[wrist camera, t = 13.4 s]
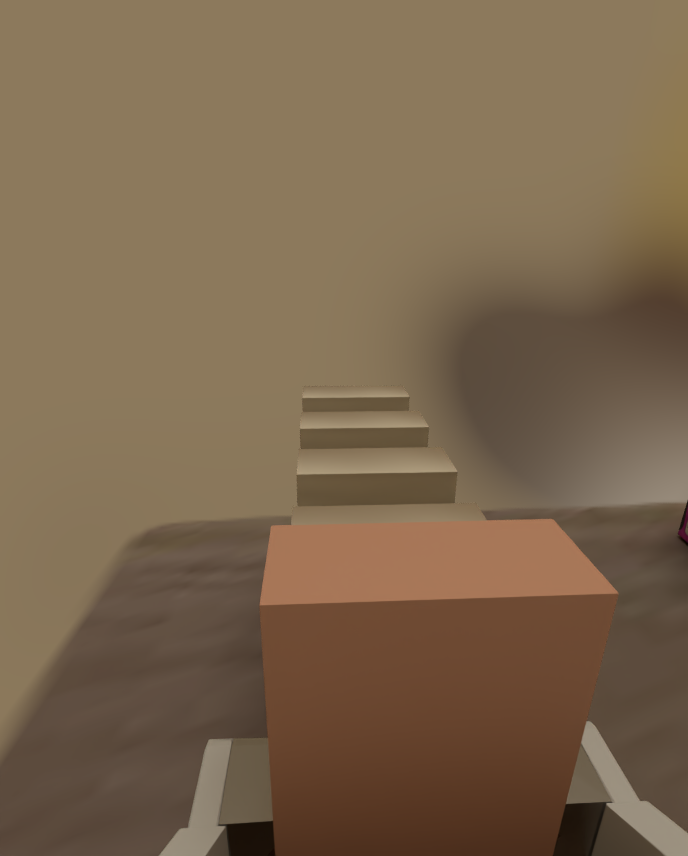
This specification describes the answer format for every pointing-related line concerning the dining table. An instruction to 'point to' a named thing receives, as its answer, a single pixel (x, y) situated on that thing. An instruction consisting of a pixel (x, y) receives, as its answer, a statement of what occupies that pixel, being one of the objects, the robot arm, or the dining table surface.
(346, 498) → the cream domino
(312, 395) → the cream domino
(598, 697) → the dining table surface
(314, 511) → the cream domino
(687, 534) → the candy bar box
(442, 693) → the terracotta domino
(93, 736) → the dining table surface
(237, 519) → the dining table surface
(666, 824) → the robot arm
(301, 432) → the cream domino
